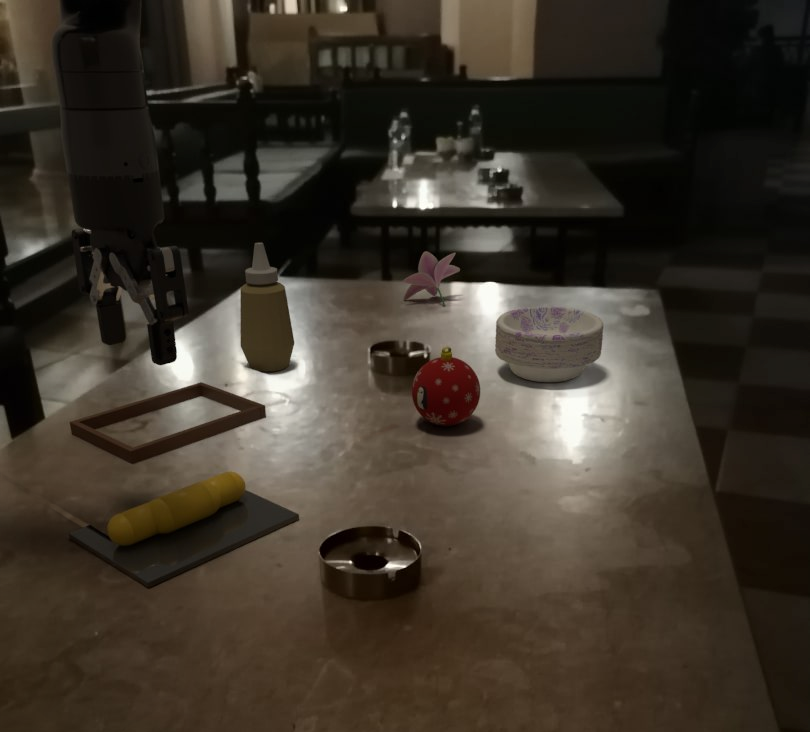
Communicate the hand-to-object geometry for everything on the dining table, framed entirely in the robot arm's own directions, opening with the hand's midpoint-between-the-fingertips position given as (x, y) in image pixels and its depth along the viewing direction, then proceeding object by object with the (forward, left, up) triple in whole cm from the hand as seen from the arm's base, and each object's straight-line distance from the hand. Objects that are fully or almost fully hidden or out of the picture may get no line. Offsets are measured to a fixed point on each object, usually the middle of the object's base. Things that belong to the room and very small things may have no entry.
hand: (139, 352), depth 85 cm
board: (0, -3, -18) cm, 18 cm away
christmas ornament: (+39, -4, -18) cm, 43 cm away
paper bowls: (+64, -2, -18) cm, 67 cm away
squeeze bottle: (+39, +31, -18) cm, 53 cm away
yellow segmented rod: (0, -4, -17) cm, 17 cm away
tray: (+14, +20, -18) cm, 30 cm away
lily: (+84, +38, -18) cm, 94 cm away
